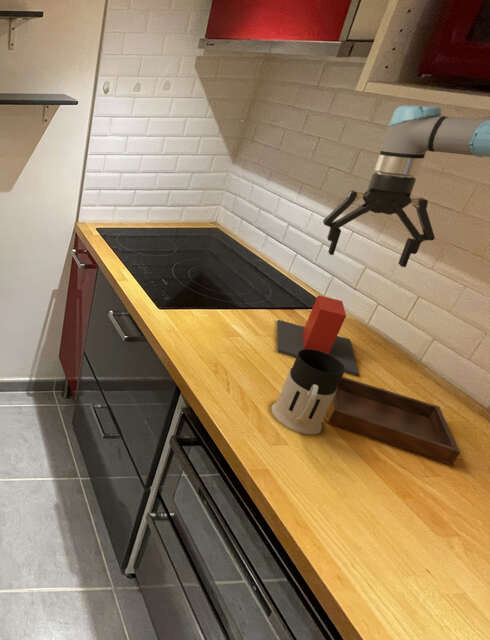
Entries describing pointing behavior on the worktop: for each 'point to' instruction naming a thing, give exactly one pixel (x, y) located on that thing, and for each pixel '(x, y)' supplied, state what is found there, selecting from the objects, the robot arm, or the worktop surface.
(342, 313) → the block
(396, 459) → the worktop surface
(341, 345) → the mat
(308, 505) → the worktop surface
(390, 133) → the robot arm
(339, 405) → the dark brown wooden tray
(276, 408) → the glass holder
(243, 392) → the worktop surface
